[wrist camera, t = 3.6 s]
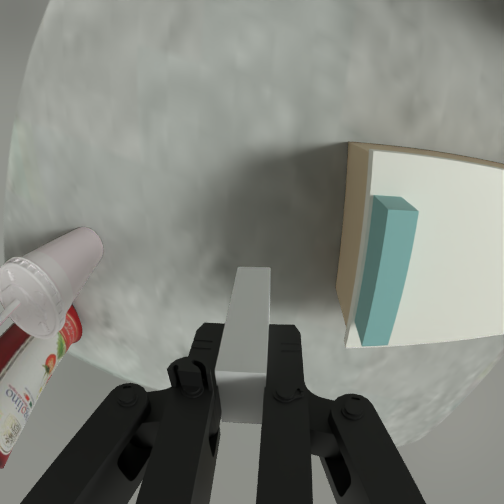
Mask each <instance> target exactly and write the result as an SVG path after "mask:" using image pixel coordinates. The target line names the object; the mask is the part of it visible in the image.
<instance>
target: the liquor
mask: <svg viewBox="0 0 504 504" xmlns="http://www.w3.org/2000/svg"><path fill="white" fill-rule="evenodd" d="M81 336H82V325H81V322H80V319H79V317H78V314H77V312H76V310H75V308H74V306H73V305H71V307H70V308H69V310H68V311H67V313H66V319H65V324H64V326H63V328H62V329H61V330H59V331H58V332H57V334H56V335H55V336H54V337H52V338H50V339H40V338H36V337H34V336H31V335H29V334H28V333H26V332H25V331H23V330H22V329H21V328H20V327H18V326H17V325H16V324H15V323H13V324H12V325H11V326H10V327H9V328H8V329H7V330H6V331H5V332H4V333H3V334H2V335H1V336H0V468H1V469H2V468H4V466H5V464H6V461H7V459H8V457H9V455H10V453H11V451H12V449H13V447H14V445H15V443H16V440H17V439H18V437H19V434H20V433H21V431H22V429H23V427H24V425H25V423H26V421H27V419H28V417H29V415H30V413H31V411H32V409H33V407H34V405H35V404H36V402H37V400H38V398H39V396H40V394H41V392H42V390H43V388H44V387H45V385H46V383H47V382H48V380H49V378H50V377H51V375H52V373H53V372H54V370H55V369H56V367H57V365H58V364H59V362H60V361H61V359H62V357H63V356H64V354H65V353H66V351H67V350H68V348H69V347H70V345H71V344H72V343H75V342H77V341H79V340H80V338H81Z"/></svg>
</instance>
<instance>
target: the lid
mask: <svg viewBox="0 0 504 504" xmlns="http://www.w3.org/2000/svg"><path fill="white" fill-rule="evenodd" d="M501 334H504V168H499V167H494V166H489V165H484V164H479V163H473V162H468V161H462V160H456V159H450V158H443V157H437V156H430V155H422V154H415V153H406V152H397V151H388V150H378V149H369V159H368V173H367V185H366V197H365V207H364V216H363V225H362V233H361V241H360V249H359V256H358V263H357V270H356V276H355V283H354V289H353V295H352V301H351V306H350V312H349V317H348V322H347V327H346V332H345V337H344V343H345V348H368V347H387V346H403V345H416V344H428V343H438V342H448V341H457V340H465V339H473V338H481V337H488V336H495V335H501Z"/></svg>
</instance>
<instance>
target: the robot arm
mask: <svg viewBox="0 0 504 504" xmlns="http://www.w3.org/2000/svg"><path fill="white" fill-rule="evenodd" d="M270 272H271V267H238V269H237V273H236V278H235V282H234V286H233V291H232V295H231V300H230V304H229V309H228V313H227V318H226V322H225V324H220V323H204V324H203V325H202V326H201V327H200V328H199V329H198V330H197V331H196V334H195V337H194V341H193V343H192V346H191V349H190V352H189V356H188V357H183V358H180V359H177V360H175V361H174V362H173V363H171V364H170V366H169V367H168V369H167V371H168V375H169V379H170V382H171V386H172V387H170V388H168V389H164V390H160V391H152V392H146V391H145V389H144V388H143V387H141V386H140V385H138V384H133V383H127V384H122V385H119V386H117V387H116V388H115V389H113V390H112V391H111V392H110V393H109V395H108V396H107V397H106V398H105V399H104V401H103V402H102V403H101V404H100V406H99V407H98V408H97V409H96V410H95V412H94V413H93V414H92V415H91V417H90V418H89V419H88V420H87V421H86V423H85V424H84V425H83V426H82V428H81V429H80V430H79V431H78V432H77V433H76V435H75V436H74V437H73V438H72V440H71V441H70V442H69V443H68V445H67V446H66V447H65V448H64V449H63V451H62V452H61V453H60V454H59V456H58V457H57V458H56V459H55V461H54V462H53V463H52V464H51V466H50V467H49V468H48V469H47V470H46V472H45V473H44V474H43V475H42V477H41V478H40V479H39V481H38V482H37V483H36V484H35V485H34V487H33V488H32V489H31V491H30V492H29V493H28V494H27V496H26V497H25V498H24V499H23V501H22V502H21V503H20V504H128V502H129V500H130V499H131V497H132V496H133V494H134V492H135V491H136V489H137V488H138V486H139V485H140V483H141V481H142V480H143V481H142V484H141V488H140V491H139V494H138V497H137V501H136V504H209V502H210V495H211V490H212V484H213V477H214V471H215V465H216V459H217V452H218V446H219V440H220V427H219V425H220V419H221V418H222V422H233V423H252V424H262V428H261V429H262V430H261V443H260V457H259V458H260V459H259V471H258V485H257V497H256V504H313V498H312V497H313V496H312V469H311V454H313V455H317V456H319V457H320V460H321V463H322V465H323V468H324V471H325V473H326V476H327V479H328V481H329V484H330V487H331V490H332V492H333V495H334V498H335V500H336V503H337V504H426V503H425V501H424V499H423V497H422V495H421V493H420V491H419V489H418V487H417V485H416V484H415V482H414V480H413V478H412V476H411V474H410V472H409V470H408V469H407V467H406V465H405V463H404V461H403V459H402V457H401V456H400V454H399V452H398V450H397V448H396V446H395V444H394V443H393V441H392V439H391V437H390V435H389V434H388V432H387V430H386V428H385V426H384V424H383V423H382V421H381V419H380V417H379V415H378V414H377V412H376V410H375V408H374V406H373V405H372V403H371V402H370V401H369V400H368V399H367V398H365V397H363V396H361V395H357V394H345V395H342V396H340V397H338V398H337V399H336V400H335V401H333V400H329V399H325V398H321V397H318V396H316V395H314V394H313V393H311V392H310V391H309V390H308V389H307V387H306V385H305V382H304V373H303V359H302V347H301V335H300V332H299V331H298V329H297V328H296V326H295V325H277V324H269V322H270Z"/></svg>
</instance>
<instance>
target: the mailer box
mask: <svg viewBox="0 0 504 504" xmlns="http://www.w3.org/2000/svg"><path fill="white" fill-rule="evenodd" d="M369 149H378V150H388V151H397V152H406V153H415V154H422V155H430V156H437V157H443V158H450V159H456V160H462V161H468V162H473V163H479V164H484V165H489V166H494V167H499V168H504V164H501V163H497V162H492V161H487V160H482V159H477V158H472V157H467V156H461V155H455V154H450V153H443V152H437V151H430V150H423V149H416V148H408V147H400V146H391V145H381V144H371V143H359V142H348V158H347V176H346V191H345V204H344V215H343V226H342V237H341V246H340V255H339V264H338V272H337V280H336V287H335V288H336V292H337V295H338V299H339V302H340V306H341V310H342V313H343V317H344V321H345V325H346V327H347V322H348V317H349V312H350V306H351V301H352V295H353V289H354V283H355V276H356V270H357V263H358V256H359V249H360V241H361V233H362V225H363V216H364V207H365V197H366V185H367V173H368V159H369Z"/></svg>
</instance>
